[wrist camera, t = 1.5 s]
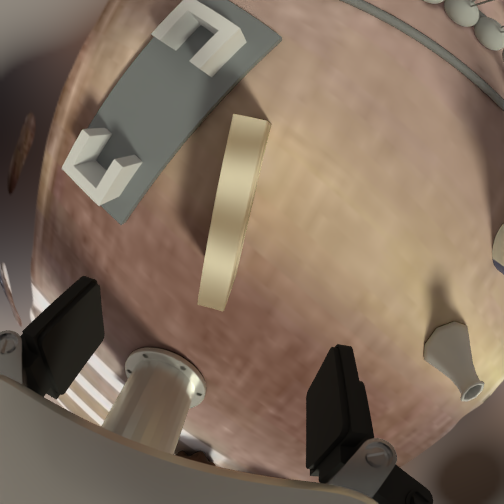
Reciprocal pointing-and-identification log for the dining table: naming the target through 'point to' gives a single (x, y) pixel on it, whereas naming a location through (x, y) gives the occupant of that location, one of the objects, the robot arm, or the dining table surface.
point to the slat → (232, 208)
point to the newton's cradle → (462, 14)
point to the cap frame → (165, 100)
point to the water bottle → (499, 250)
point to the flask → (454, 358)
